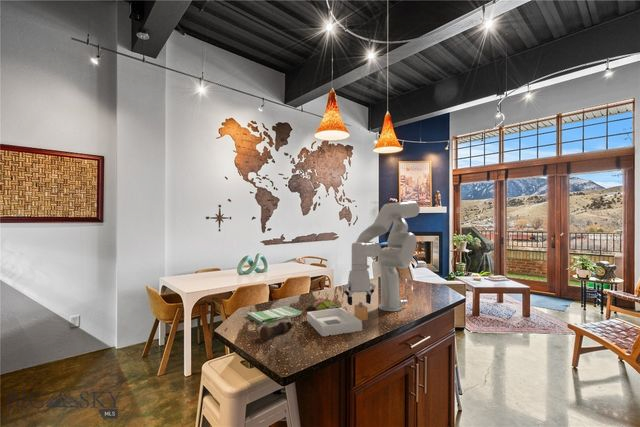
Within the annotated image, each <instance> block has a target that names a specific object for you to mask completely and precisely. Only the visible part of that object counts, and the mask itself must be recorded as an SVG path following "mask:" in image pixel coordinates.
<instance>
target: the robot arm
mask: <svg viewBox="0 0 640 427" xmlns="http://www.w3.org/2000/svg"><path fill="white" fill-rule="evenodd" d="M420 210H421V208H420V205H419V204H418V202H416V200H415V201H413V200H412V201H401V202H391V203H389V202H388V203H385V204H384V205H383V206H382V207H381V208H380V210H379V213H378V214H377V216H376V218H375V220H374V222H373V223H372V224H371V225H369V226H368V227H367V228H365V229H364V230H363V231H362V232H361V233H360V234H359V235H358V237H357V239H356V241H355V242H353V243H351V270H349V273H348V277H347V278H348V281H347V284H345V285H343V286H342V290H343V292H344V294H345V295H346V296H347V298H346V299H347V305H350V306H352V305H353V296H352V295H354V293H366V295H365V302H366V304H368V305H371V301H372V295H373V293H374V292H375V289H376V285H375V284H373V283H371V280H370V273H369V270H368V269H370V265H368V257H369V258H376V257H377V260H378V265H379V272H380V274H379V275H380V304H379V305H378V309H379V310H381V311H384V312H400V311H402V310H403V309H404V306H403V305H404V304H408V300H407V299H401V298H400V282H399V281H400V278H399V277H400V275H399V272H398V269H397V268H399V269H406V268H409V266H410V264H411V262H412V260H413V257H414V254H415V250H416V248H417V243H418V240H417V237H416V235H415V233H412V232H408V231H409V225H408V223H407V221H406V220H405V219H409V218H414V217H417V216H418V215H419V213H420ZM390 228H391V230H390ZM389 230H390V232H389ZM387 232H389V235H388V237H387V241H386V246H387V247H388V248H383V249H382V245H381V244H380V243H378V242H375V241H371V240H373V239H375V238H377V237H380V236H382V235H384V234H386V233H387Z"/></svg>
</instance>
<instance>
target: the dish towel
mask: <svg viewBox="0 0 640 427" xmlns="http://www.w3.org/2000/svg"><path fill="white" fill-rule="evenodd" d="M302 313H303V311H302V310H298V309H296V308H293V307H291V306H288V305H283V306H281V307H277V308H271V309H267V310H262V311H261V310H260V311H256V312H254V311H252V312H246V315H247V318H249V319H250V318H251V319H250V320H252V321H254V322H256V323H258V324H259V325H261V326H263V325H265V324H271V323H274V322H279V321H282V320H286V319H290V318H294V317H298V316H301V315H302Z"/></svg>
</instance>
